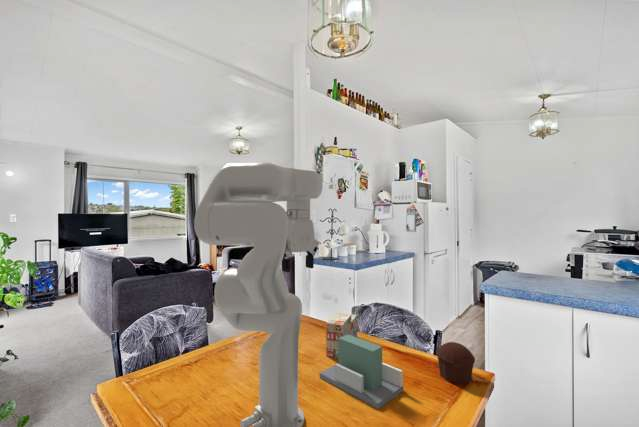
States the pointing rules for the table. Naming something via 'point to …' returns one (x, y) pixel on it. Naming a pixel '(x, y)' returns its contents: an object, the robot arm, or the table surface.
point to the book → (362, 359)
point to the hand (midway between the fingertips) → (298, 269)
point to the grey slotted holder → (354, 386)
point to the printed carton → (339, 331)
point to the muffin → (455, 363)
